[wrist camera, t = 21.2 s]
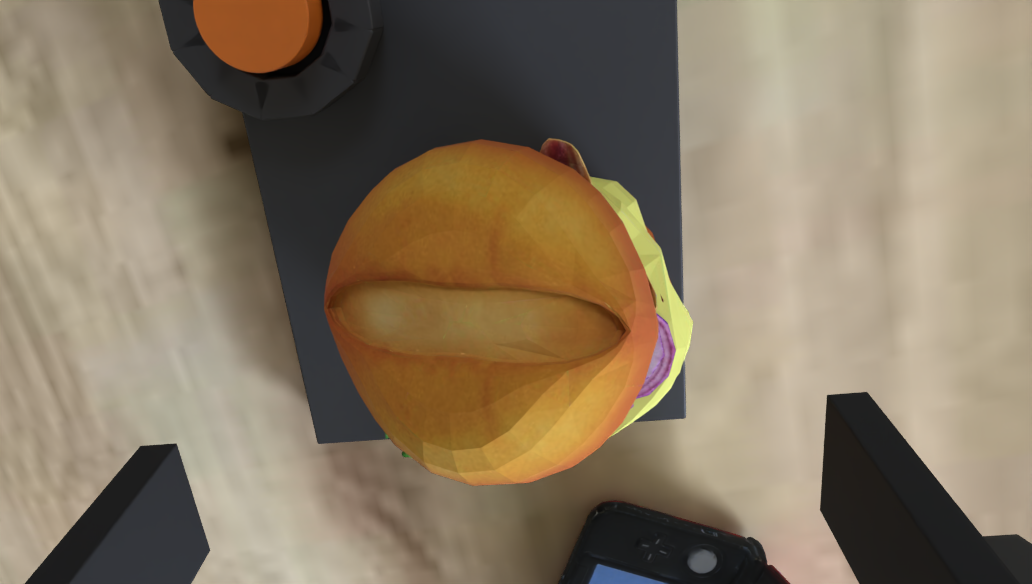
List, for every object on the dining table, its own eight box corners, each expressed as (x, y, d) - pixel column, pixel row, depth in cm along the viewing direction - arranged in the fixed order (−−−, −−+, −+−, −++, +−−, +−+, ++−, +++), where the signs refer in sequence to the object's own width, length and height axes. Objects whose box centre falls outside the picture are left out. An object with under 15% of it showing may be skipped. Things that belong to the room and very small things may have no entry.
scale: (187, -83, 24) (133, -94, 21) (664, -140, 23) (683, -160, 20) (304, 420, 31) (277, 471, 28) (678, 394, 30) (694, 443, 27)
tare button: (202, -43, 22) (179, -44, 20) (311, -55, 22) (295, -58, 20) (229, 72, 23) (208, 79, 22) (333, 62, 23) (319, 67, 21)
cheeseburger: (498, 476, 29) (419, 635, 20) (344, 240, 29) (185, 286, 19) (734, 345, 27) (775, 454, 17) (570, 84, 26) (519, 46, 17)
